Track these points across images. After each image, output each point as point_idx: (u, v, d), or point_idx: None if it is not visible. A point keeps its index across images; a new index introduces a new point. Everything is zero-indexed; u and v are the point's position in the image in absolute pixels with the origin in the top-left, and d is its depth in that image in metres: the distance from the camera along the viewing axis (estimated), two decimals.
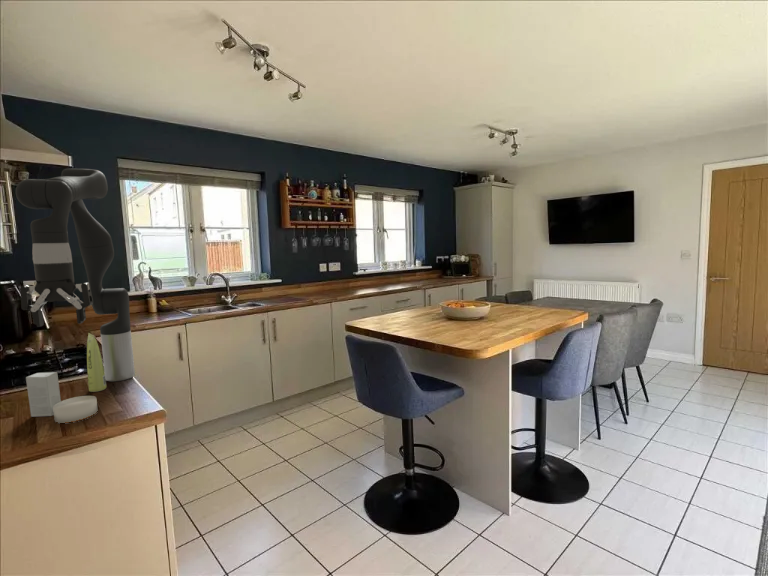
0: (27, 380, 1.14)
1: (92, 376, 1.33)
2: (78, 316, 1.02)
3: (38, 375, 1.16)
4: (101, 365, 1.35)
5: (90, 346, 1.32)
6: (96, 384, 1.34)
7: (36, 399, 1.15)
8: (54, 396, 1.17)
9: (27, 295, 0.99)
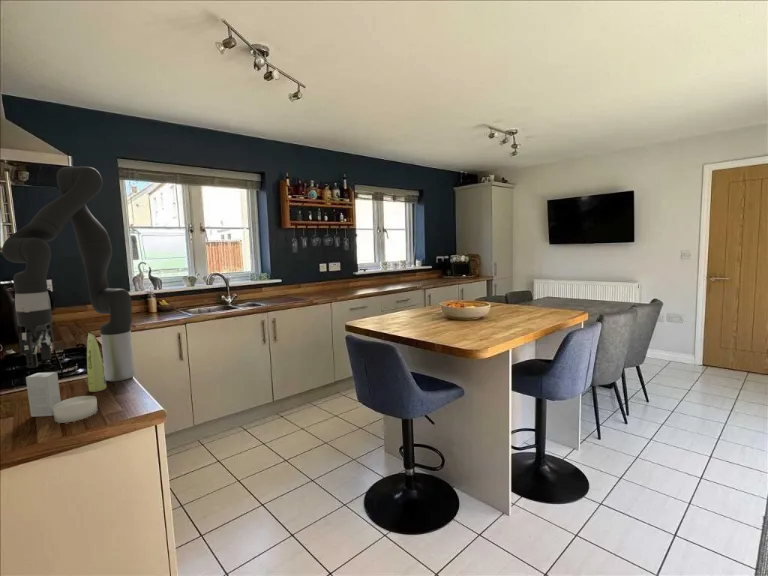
0: (27, 380, 1.14)
1: (92, 376, 1.33)
2: (50, 352, 1.20)
3: (38, 375, 1.16)
4: (101, 365, 1.35)
5: (90, 346, 1.32)
6: (96, 384, 1.34)
7: (36, 399, 1.15)
8: (54, 396, 1.17)
9: None
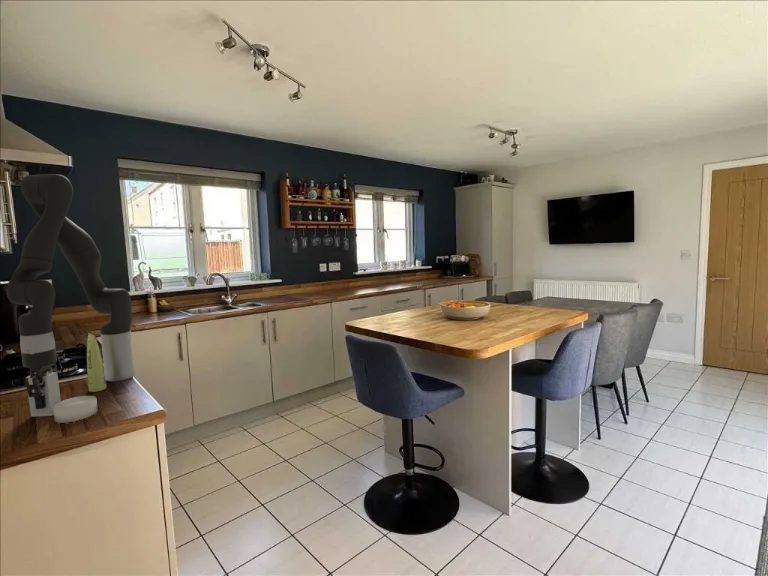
0: None
1: (92, 376, 1.33)
2: None
3: None
4: (101, 365, 1.35)
5: (90, 346, 1.32)
6: (96, 384, 1.34)
7: None
8: (54, 396, 1.17)
9: None
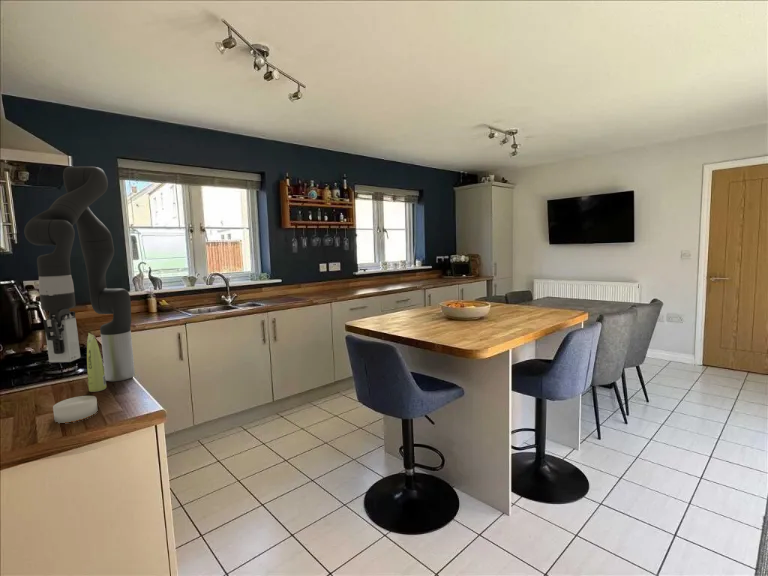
0: None
1: (92, 376, 1.33)
2: None
3: None
4: (101, 365, 1.35)
5: (90, 346, 1.32)
6: (96, 384, 1.34)
7: None
8: (72, 342, 1.13)
9: None
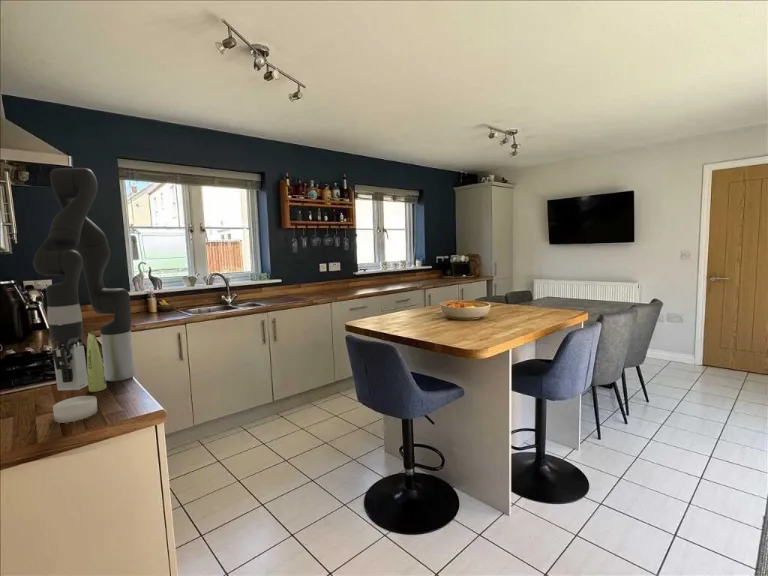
0: None
1: (92, 376, 1.33)
2: None
3: None
4: (101, 365, 1.35)
5: (90, 346, 1.32)
6: (96, 384, 1.34)
7: None
8: (81, 370, 1.14)
9: None
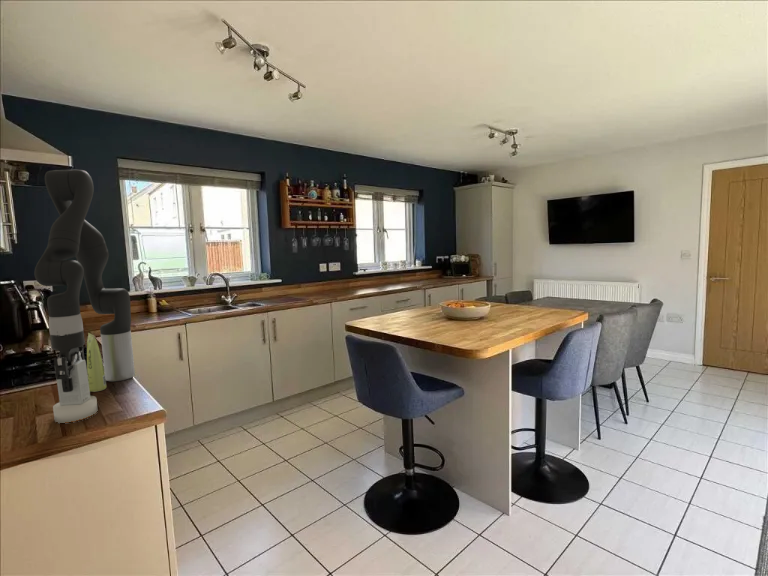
0: None
1: (92, 376, 1.33)
2: None
3: None
4: (101, 365, 1.35)
5: (90, 346, 1.32)
6: (96, 384, 1.34)
7: None
8: (83, 384, 1.15)
9: None
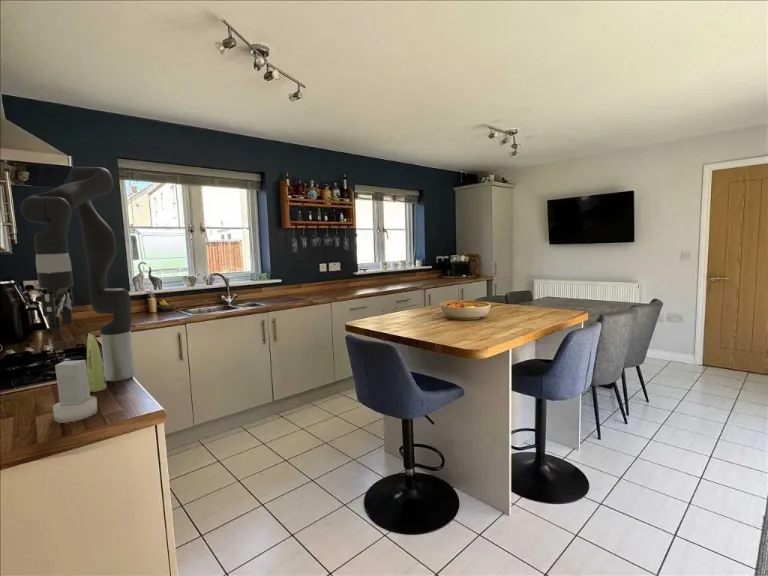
0: (56, 368, 1.12)
1: (92, 376, 1.33)
2: (71, 316, 1.17)
3: (67, 363, 1.14)
4: (101, 365, 1.35)
5: (90, 346, 1.32)
6: (96, 384, 1.34)
7: (66, 387, 1.13)
8: (84, 384, 1.15)
9: None
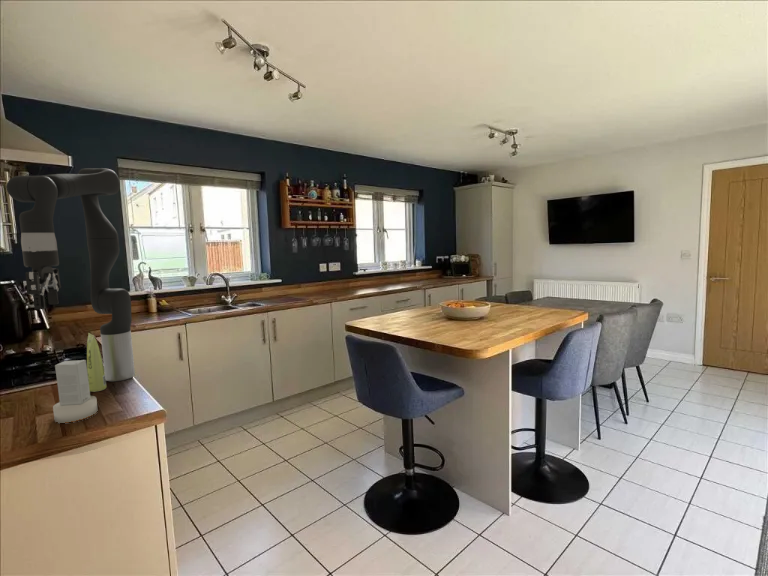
0: (56, 368, 1.12)
1: (92, 376, 1.33)
2: (57, 297, 1.17)
3: (67, 363, 1.14)
4: (101, 365, 1.35)
5: (90, 346, 1.32)
6: (96, 384, 1.34)
7: (66, 387, 1.13)
8: (84, 384, 1.15)
9: None
